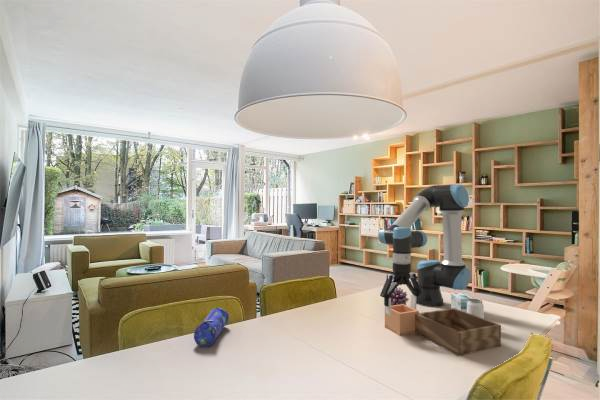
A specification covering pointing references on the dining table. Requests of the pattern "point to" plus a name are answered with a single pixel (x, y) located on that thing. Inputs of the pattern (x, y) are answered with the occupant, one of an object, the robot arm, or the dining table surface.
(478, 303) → the can
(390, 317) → the small crate
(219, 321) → the pencil case
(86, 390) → the dining table surface
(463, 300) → the light bulb box
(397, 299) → the purple spiky ball
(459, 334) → the large crate
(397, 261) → the robot arm
